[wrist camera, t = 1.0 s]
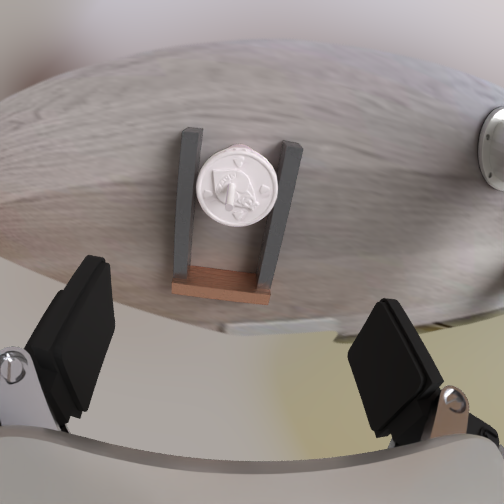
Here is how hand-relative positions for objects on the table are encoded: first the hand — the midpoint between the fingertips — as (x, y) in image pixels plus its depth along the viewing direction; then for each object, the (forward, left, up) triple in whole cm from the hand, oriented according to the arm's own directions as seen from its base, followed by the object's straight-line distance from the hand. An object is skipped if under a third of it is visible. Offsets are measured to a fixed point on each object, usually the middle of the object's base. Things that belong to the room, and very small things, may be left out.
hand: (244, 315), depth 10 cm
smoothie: (0, +1, -24) cm, 24 cm away
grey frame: (0, +6, -24) cm, 25 cm away
